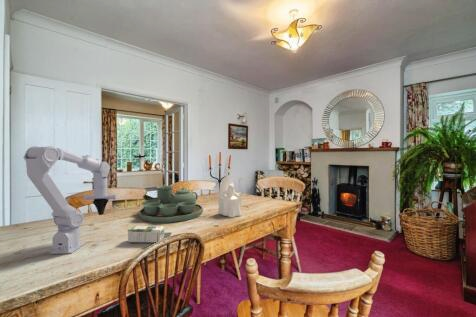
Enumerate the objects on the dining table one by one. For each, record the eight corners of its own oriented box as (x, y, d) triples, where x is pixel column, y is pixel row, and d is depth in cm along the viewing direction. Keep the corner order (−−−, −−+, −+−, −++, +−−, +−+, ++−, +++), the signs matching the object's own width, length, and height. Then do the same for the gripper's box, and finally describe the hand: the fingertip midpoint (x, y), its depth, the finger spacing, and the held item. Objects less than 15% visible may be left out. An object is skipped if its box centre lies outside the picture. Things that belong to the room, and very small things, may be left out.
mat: (165, 242, 103) (165, 241, 103) (131, 243, 102) (131, 242, 102) (171, 233, 115) (171, 232, 115) (140, 234, 114) (140, 233, 114)
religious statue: (227, 219, 140) (228, 169, 139) (216, 213, 152) (217, 168, 150) (250, 214, 150) (251, 168, 149) (238, 209, 161) (239, 166, 160)
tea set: (124, 219, 140) (123, 192, 139) (167, 205, 177) (167, 183, 177) (179, 227, 125) (178, 197, 125) (213, 210, 162) (213, 186, 162)
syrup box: (133, 225, 108) (164, 225, 108) (134, 238, 108) (164, 238, 108) (127, 229, 102) (159, 229, 102) (127, 242, 103) (160, 242, 102)
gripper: (119, 184, 116) (120, 211, 116) (89, 185, 114) (90, 212, 115) (113, 187, 109) (113, 215, 109) (80, 187, 107) (81, 216, 108)
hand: (101, 214), depth 112 cm, fingers closed
